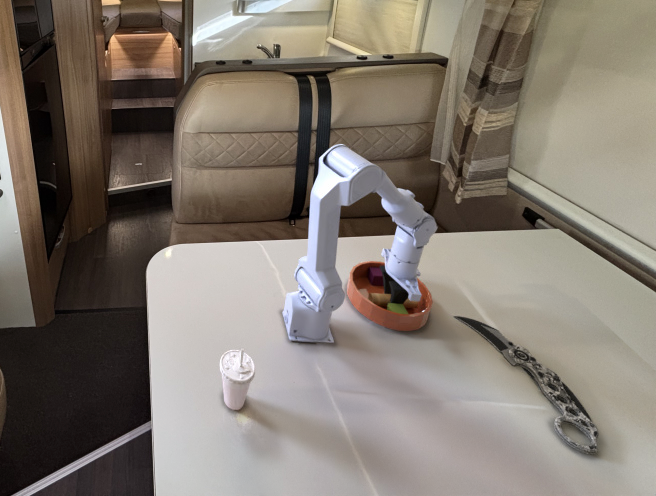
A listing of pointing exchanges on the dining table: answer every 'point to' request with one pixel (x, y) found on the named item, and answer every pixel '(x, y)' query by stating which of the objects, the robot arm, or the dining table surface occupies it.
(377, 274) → the chunk
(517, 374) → the dining table surface
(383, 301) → the stick
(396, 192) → the robot arm
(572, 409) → the knife
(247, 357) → the smoothie
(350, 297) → the bowl
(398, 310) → the chunk
